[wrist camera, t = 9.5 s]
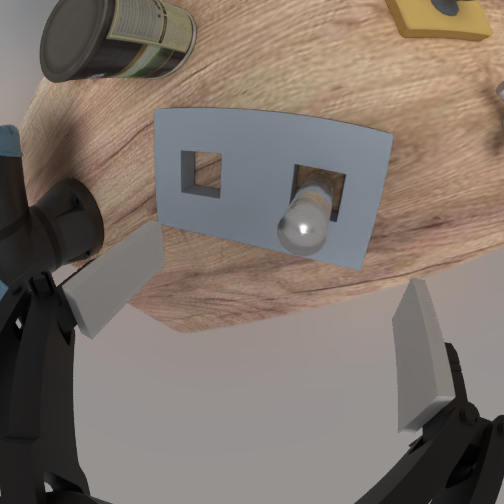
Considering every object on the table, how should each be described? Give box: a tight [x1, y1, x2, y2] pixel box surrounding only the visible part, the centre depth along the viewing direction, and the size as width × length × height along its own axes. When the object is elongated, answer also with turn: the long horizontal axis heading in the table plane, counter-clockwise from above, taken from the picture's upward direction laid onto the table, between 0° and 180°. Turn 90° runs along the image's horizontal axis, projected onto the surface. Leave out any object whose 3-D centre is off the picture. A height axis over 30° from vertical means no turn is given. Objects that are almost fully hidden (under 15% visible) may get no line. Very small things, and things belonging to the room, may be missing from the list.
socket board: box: [154, 108, 394, 270], centre depth 27 cm, size 24×14×3 cm, turn 86°
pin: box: [277, 171, 335, 256], centre depth 22 cm, size 3×3×12 cm
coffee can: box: [40, 0, 196, 83], centre depth 18 cm, size 10×10×14 cm
